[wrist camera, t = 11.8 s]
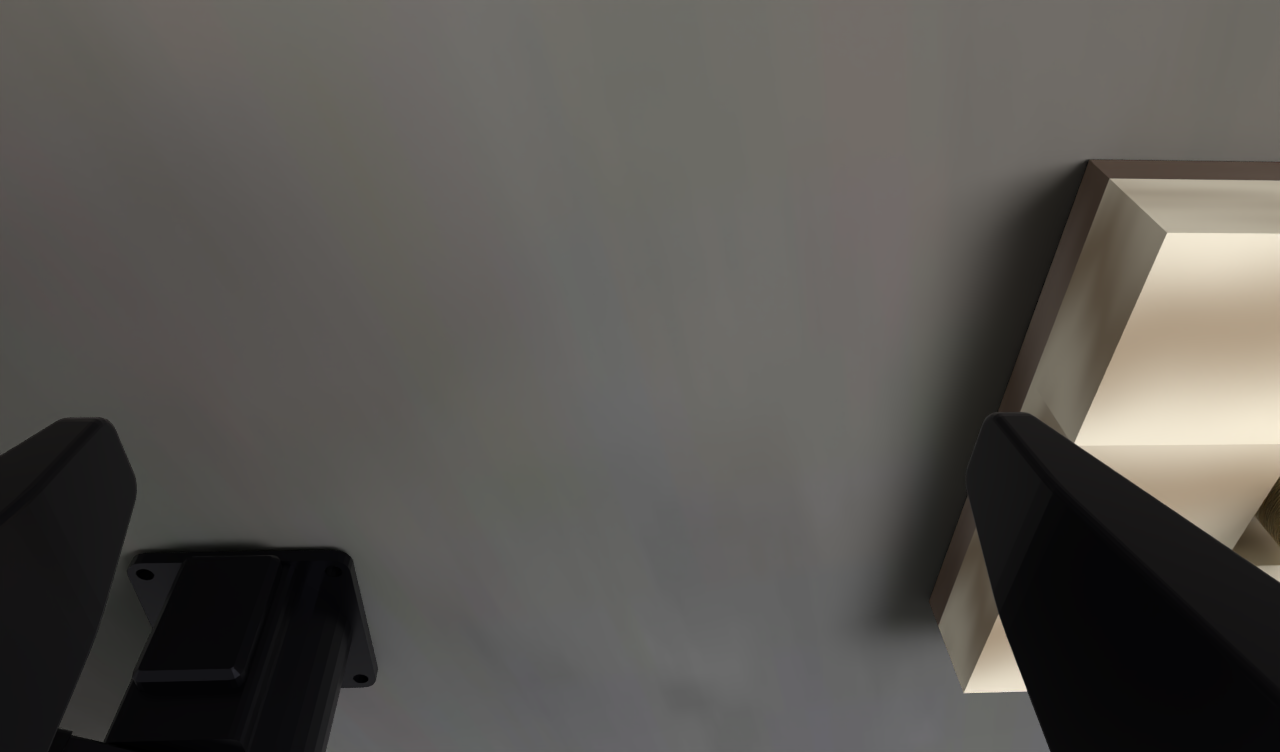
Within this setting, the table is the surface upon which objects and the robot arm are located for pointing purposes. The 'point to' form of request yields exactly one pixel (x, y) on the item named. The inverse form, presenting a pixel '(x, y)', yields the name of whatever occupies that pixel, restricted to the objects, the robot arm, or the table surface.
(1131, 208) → the jig plate
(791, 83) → the table surface
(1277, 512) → the brass pin
